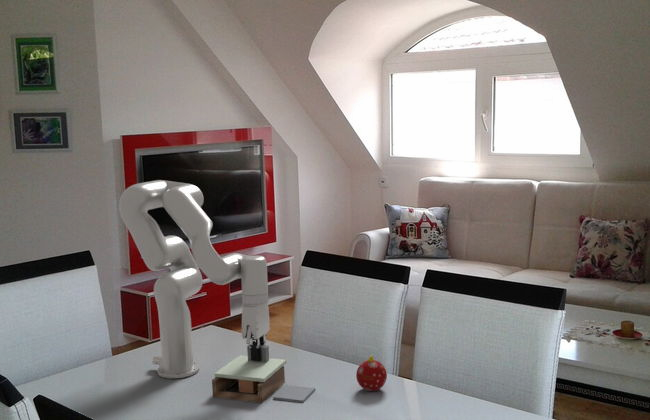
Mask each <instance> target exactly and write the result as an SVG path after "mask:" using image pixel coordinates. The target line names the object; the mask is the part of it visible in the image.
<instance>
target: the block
mask: <svg viewBox="0 0 650 420" xmlns="http://www.w3.org/2000/svg"><path fill="white" fill-rule="evenodd" d="M259 383H261V382H258V381H249V380H240V379H238V393H245V394H254V393H256V392H258V384H259Z"/></svg>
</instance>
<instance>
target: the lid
mask: <svg viewBox="0 0 650 420" xmlns="http://www.w3.org/2000/svg"><path fill="white" fill-rule="evenodd" d="M246 347H247V348H246V349H247V350H246V351H247V355H241V354H240V355H238V356H237V357H235V358H234V359H232V360H231V361H230V362H228V363H227V364H226V365H224V366H223V367H221V368H220V369H218V370H217V371H216V372H214V378H215V377H221V378H231V379H240V380H249V381H258V382H260V383H261V382H265V381H266V380H267V379H268V378H270V377H271V376H272V375H273V374H274V373H275V372H277V371H278V370H279V369H280V368H281V367H282V366H284V367H285V365H286V364H287V359H282V358H281V359H280V358H270V348H269V347H270V346H269V345H266V344H264V345H260V348H261V357H262V360H261V361H252V360H251V349H250V345H248V344H247V346H246Z"/></svg>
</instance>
